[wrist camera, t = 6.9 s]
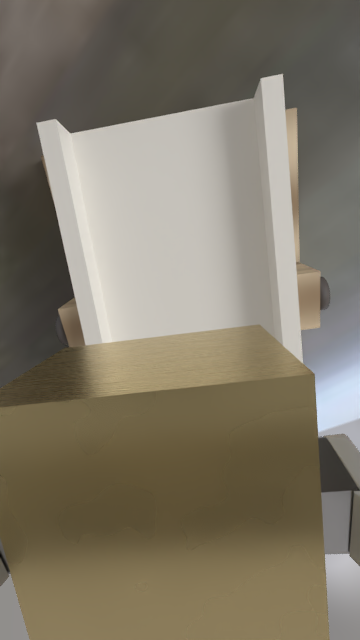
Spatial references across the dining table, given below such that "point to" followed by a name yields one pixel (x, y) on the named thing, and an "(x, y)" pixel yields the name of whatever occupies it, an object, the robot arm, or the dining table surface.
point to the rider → (165, 491)
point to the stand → (308, 279)
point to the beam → (180, 221)
